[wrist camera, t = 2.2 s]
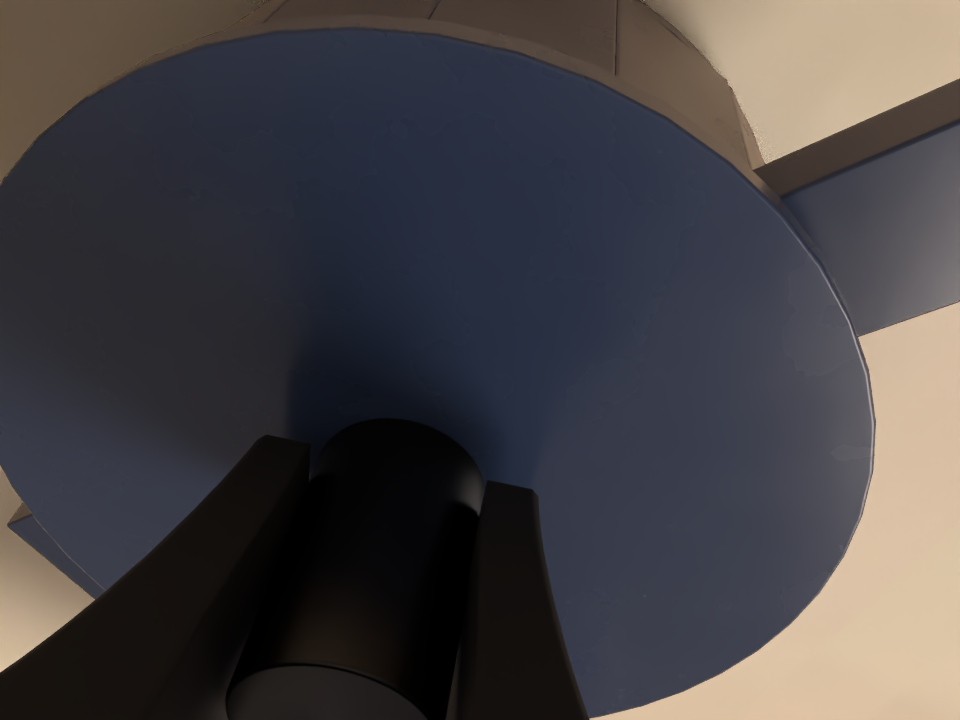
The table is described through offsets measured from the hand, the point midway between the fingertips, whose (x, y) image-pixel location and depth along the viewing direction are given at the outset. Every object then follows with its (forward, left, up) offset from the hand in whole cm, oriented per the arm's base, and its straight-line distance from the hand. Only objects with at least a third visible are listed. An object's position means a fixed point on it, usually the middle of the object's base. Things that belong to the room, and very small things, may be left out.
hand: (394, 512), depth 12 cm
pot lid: (0, 0, -1) cm, 1 cm away
